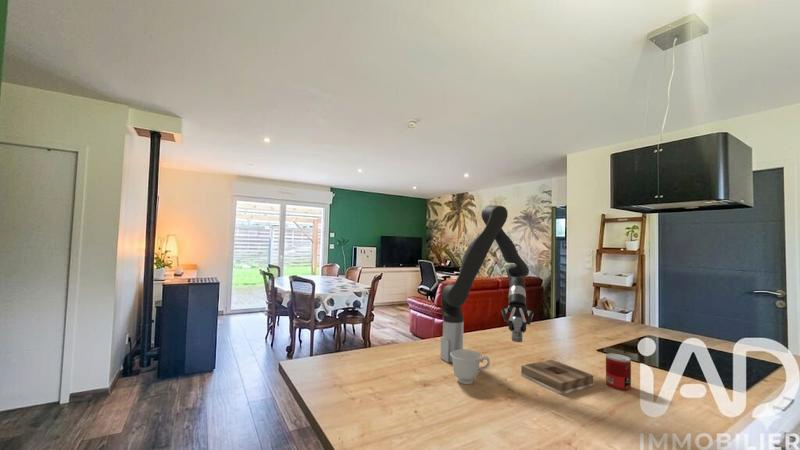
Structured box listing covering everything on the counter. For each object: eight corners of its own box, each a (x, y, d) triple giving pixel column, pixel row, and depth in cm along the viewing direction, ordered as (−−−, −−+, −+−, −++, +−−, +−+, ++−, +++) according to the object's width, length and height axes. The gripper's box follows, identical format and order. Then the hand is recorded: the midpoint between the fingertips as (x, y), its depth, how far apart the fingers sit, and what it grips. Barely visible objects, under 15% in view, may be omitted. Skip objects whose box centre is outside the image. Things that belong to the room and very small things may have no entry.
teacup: (490, 390, 119) (491, 362, 120) (448, 385, 122) (449, 358, 123) (488, 377, 131) (488, 351, 131) (450, 373, 134) (450, 348, 134)
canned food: (630, 392, 120) (630, 362, 121) (604, 386, 125) (604, 356, 126) (631, 385, 126) (631, 356, 127) (606, 380, 131) (606, 351, 132)
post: (517, 342, 139) (517, 318, 140) (509, 339, 143) (509, 316, 144) (524, 341, 141) (525, 317, 142) (516, 338, 145) (517, 315, 146)
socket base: (560, 394, 117) (560, 383, 117) (521, 375, 133) (521, 365, 133) (593, 386, 125) (593, 375, 125) (552, 368, 141) (552, 359, 141)
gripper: (501, 291, 153) (499, 324, 140) (534, 294, 148) (536, 328, 136) (501, 301, 157) (499, 333, 145) (533, 304, 153) (534, 337, 141)
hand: (517, 330), depth 141 cm, fingers closed on post, 4 cm apart
